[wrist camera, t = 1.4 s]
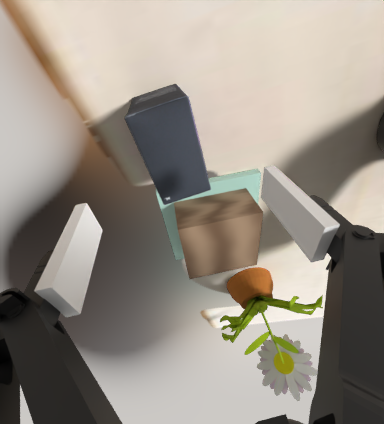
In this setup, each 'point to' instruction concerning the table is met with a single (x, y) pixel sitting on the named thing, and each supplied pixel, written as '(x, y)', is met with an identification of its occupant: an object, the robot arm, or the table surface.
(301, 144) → the table surface
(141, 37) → the table surface
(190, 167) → the small box
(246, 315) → the decorative plant
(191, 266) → the walnut block
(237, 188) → the baseplate
